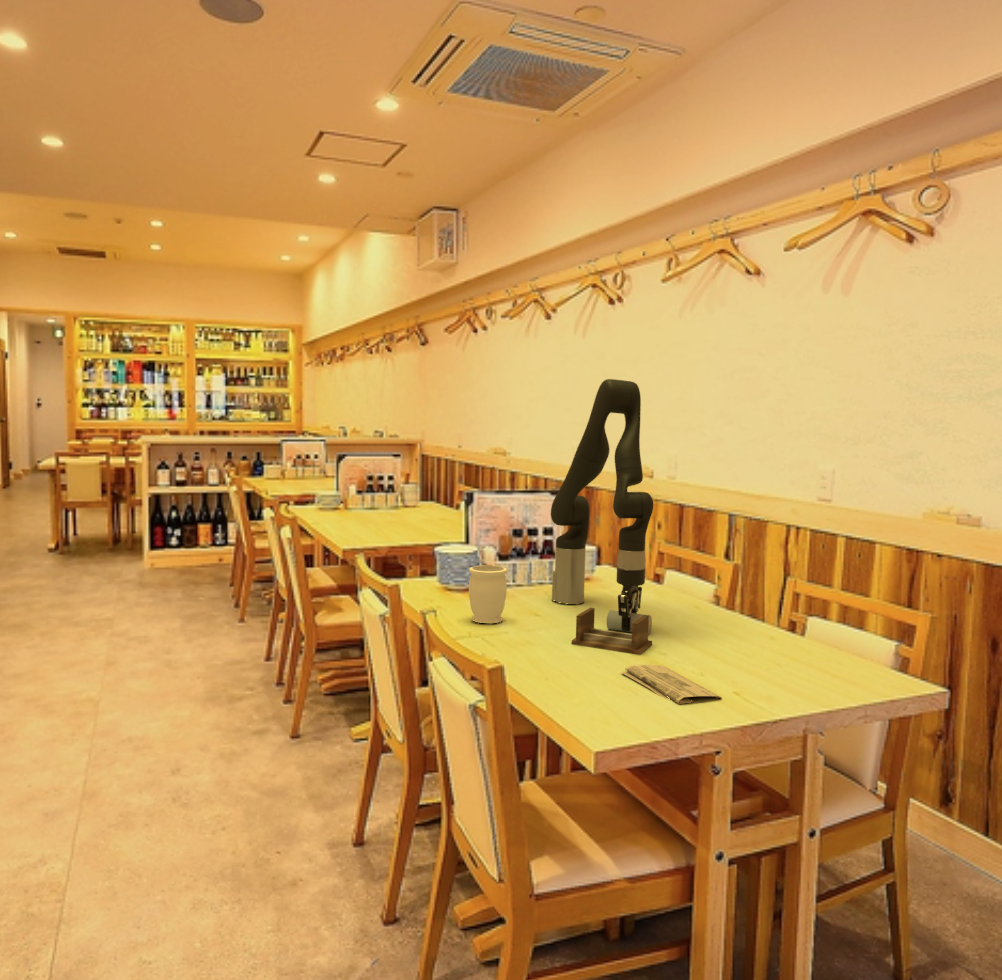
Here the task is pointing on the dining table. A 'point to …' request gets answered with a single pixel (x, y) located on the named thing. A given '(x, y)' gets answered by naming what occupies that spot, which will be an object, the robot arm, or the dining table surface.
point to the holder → (611, 635)
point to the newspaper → (667, 683)
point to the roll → (616, 621)
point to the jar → (487, 593)
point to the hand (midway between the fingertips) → (629, 627)
